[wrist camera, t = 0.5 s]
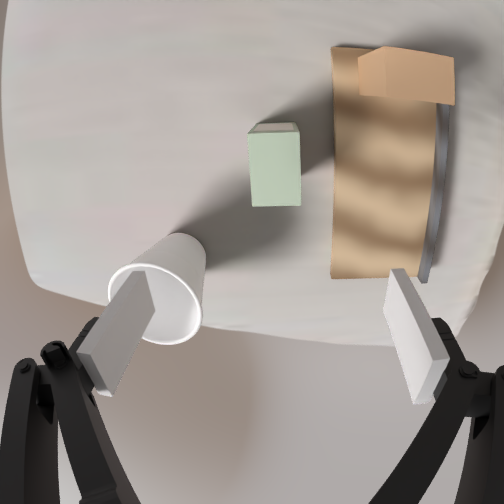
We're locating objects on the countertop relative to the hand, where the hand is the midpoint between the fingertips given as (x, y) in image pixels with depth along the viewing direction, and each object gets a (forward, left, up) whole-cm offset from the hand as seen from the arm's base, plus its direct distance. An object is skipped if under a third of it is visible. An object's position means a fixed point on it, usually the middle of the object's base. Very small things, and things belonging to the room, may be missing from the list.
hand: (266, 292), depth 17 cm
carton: (-4, 0, -20) cm, 21 cm away
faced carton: (-12, +12, -19) cm, 25 cm away
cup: (+8, -12, -20) cm, 25 cm away
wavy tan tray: (-2, +12, -20) cm, 24 cm away
